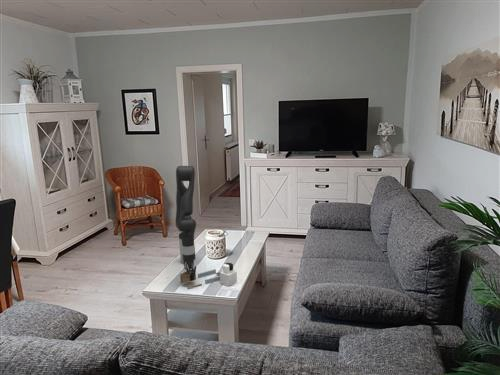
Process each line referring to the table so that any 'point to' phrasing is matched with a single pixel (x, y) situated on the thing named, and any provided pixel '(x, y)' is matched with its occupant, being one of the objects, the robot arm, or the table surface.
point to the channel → (209, 278)
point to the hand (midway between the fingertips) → (190, 278)
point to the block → (186, 277)
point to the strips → (193, 286)
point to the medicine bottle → (228, 275)
